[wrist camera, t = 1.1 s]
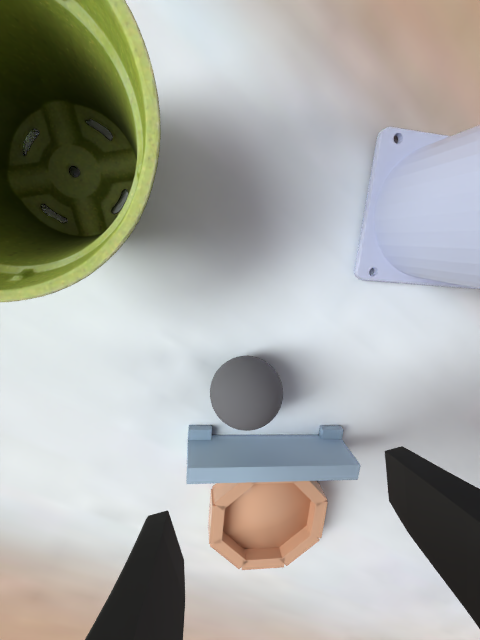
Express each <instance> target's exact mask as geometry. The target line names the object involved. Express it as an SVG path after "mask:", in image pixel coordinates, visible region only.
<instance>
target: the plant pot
mask: <svg viewBox="0 0 480 640" xmlns="http://www.w3.org/2000/svg"><path fill="white" fill-rule="evenodd" d="M89 119H92V120H94V121H96V122H98V123H99V124H101V125H102V126H104V127H106V128H107V129H108V130H109V131H110V132H111V135H112V136H113V138H112V140H108V139H107V138H106V137H105V136H104V135H102V134H101V133H100V132H99V131H98V130H96V129H94V128H93V127H91V126H90V125H88V124H86V120H89ZM35 128H36V129H37V130H39V135H38V136H37V137H36V139H35V141H34V142H33V143H32V145H31V147H30V149H29V151H27V155H26V156H24V153H23V144H24V140H25V138H26V136H27V134H28V133H29V132H30V131H31V130H33V129H35ZM160 132H161V131H160V110H159V101H158V94H157V89H156V83H155V78H154V73H153V69H152V65H151V62H150V58H149V55H148V52H147V49H146V46H145V43H144V40H143V38H142V35H141V33H140V30H139V28H138V25H137V23H136V21H135V19H134V16H133V14H132V12H131V10H130V9H129V7H128V5H127V3H126V1H125V0H0V302H12V301H20V300H27V299H32V298H37V297H42V296H45V295H48V294H52V293H55V292H57V291H60V290H62V289H64V288H67V287H69V286H71V285H73V284H75V283H77V282H79V281H80V280H82V279H84V278H86V277H87V276H89V275H90V274H92V273H93V272H94V271H95V270H97V269H98V268H99V267H101V266H102V265H103V264H104V263H105V262H106V261H108V260H109V259H110V258H111V257H112V256H113V255H114V254H115V253H116V252H117V250H118V249H119V248H120V247H121V246H122V245H123V243H124V242H125V241H126V240H127V239H128V237H129V236H130V234H131V233H132V231H133V229H134V228H135V226H136V225H137V223H138V221H139V220H140V217H141V215H142V213H143V211H144V208H145V206H146V204H147V201H148V198H149V195H150V192H151V190H152V186H153V182H154V178H155V173H156V169H157V164H158V157H159V148H160ZM71 166H76V167H77V168H78V169H79V170H80V175H79V176H78V177H73V176H72V175H70V173H69V168H70V167H71ZM124 189H127V191H128V197H127V200H126V202H125V203H124V205H123V207H122V209H121V210H120V211H119V212H118V213H115V214H113V213H112V212H111V209H112V208H113V207H114V206H115V204H116V203H117V202H118V200H119V198H120V196H121V193H122V191H123V190H124ZM41 204H45V205H46V206H48V207H49V208H50V209H52V210H53V211H54V212H56V213H58V214H59V215H61V216H63V217H66V218H67V220H68V222H66V223H61V222H60V221H58V220H56V219H55V218H53V217H49V216H47V215H46V214H45V213H44V212H43V211H42V210H41Z"/></svg>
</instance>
